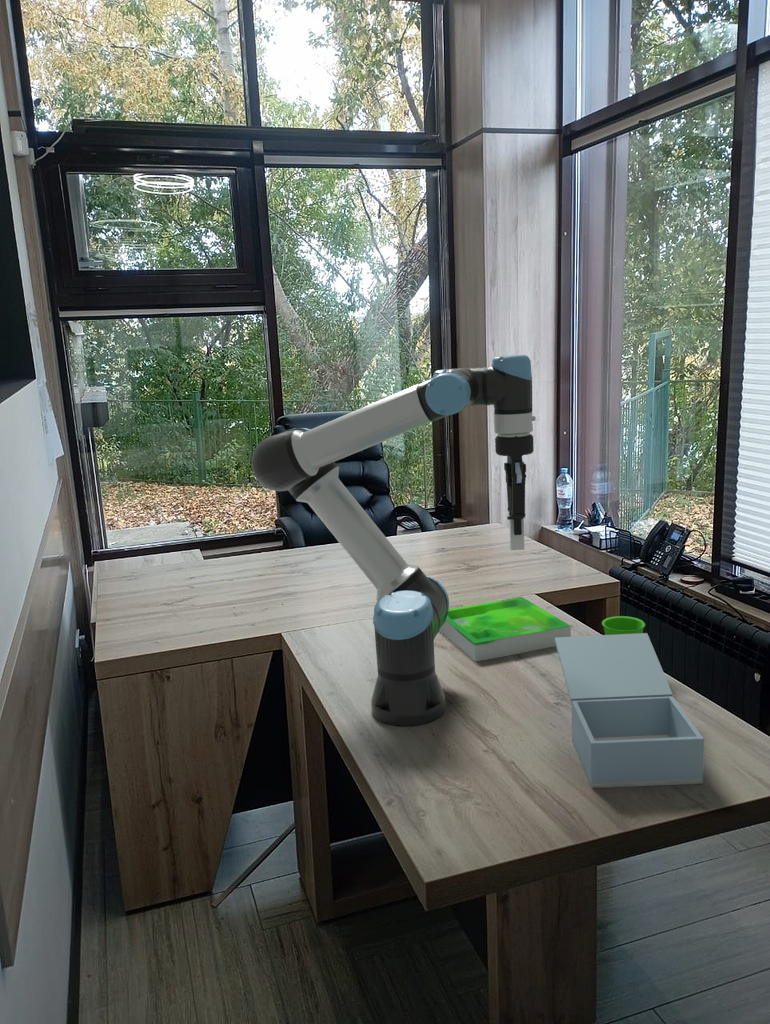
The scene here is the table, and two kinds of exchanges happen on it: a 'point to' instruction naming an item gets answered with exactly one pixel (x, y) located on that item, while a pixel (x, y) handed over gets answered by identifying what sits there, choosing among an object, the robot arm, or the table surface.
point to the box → (636, 742)
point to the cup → (622, 625)
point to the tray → (502, 628)
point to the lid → (611, 667)
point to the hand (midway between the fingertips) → (517, 548)
